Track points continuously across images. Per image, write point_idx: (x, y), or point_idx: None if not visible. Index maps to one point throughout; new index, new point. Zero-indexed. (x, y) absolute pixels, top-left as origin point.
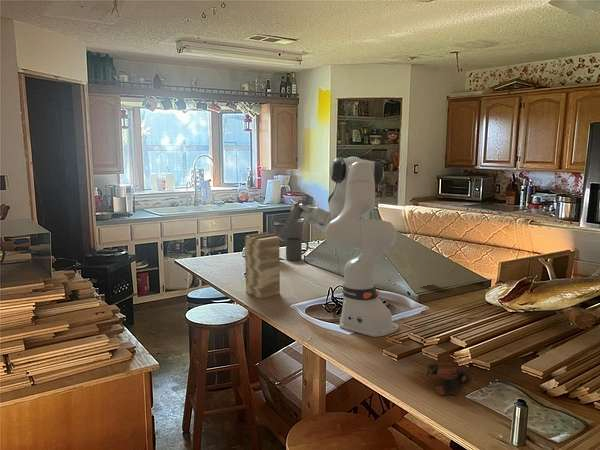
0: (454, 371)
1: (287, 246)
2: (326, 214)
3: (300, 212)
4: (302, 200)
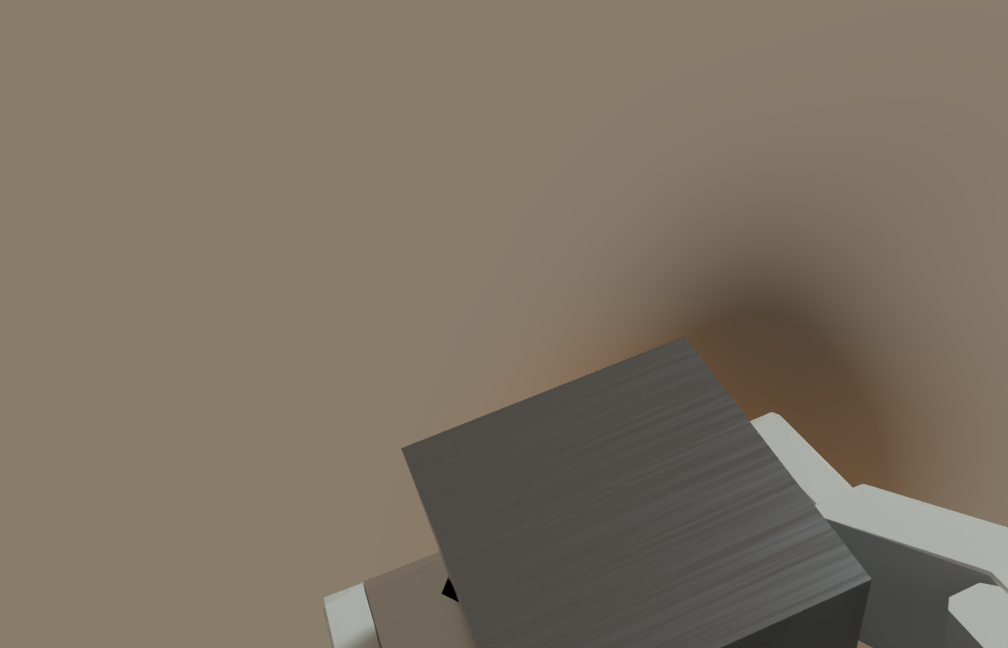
0: None
1: None
2: None
3: None
4: (456, 447)
